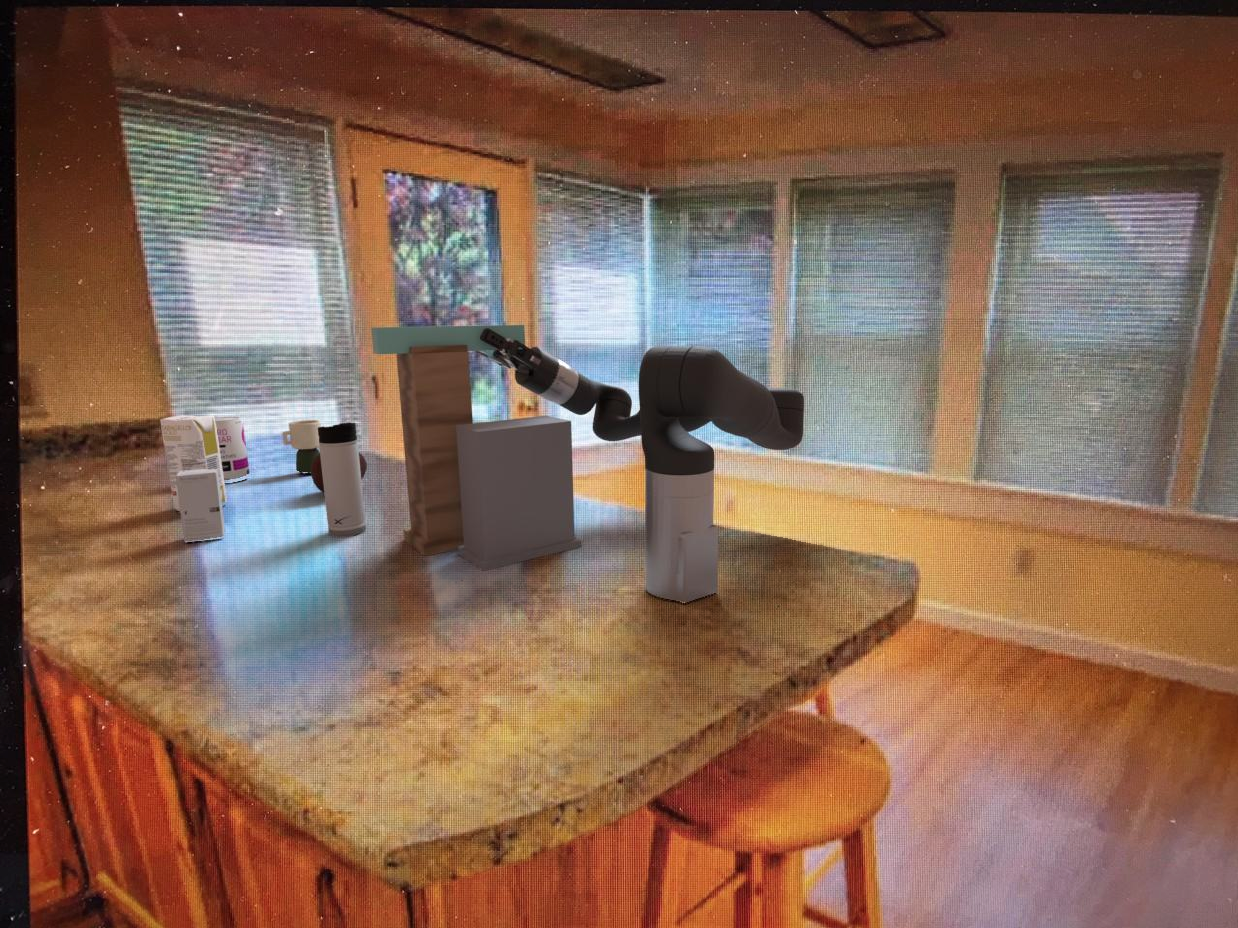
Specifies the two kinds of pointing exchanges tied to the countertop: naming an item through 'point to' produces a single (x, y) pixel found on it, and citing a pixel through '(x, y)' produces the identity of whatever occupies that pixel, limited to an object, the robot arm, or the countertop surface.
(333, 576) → the countertop surface
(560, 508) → the charcoal pedestal
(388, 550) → the countertop surface
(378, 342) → the teal bar
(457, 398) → the walnut stand
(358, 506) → the travel mug
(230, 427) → the supplement can
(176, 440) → the juice carton
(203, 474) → the skincare box
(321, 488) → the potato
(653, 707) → the countertop surface
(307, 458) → the character mug
